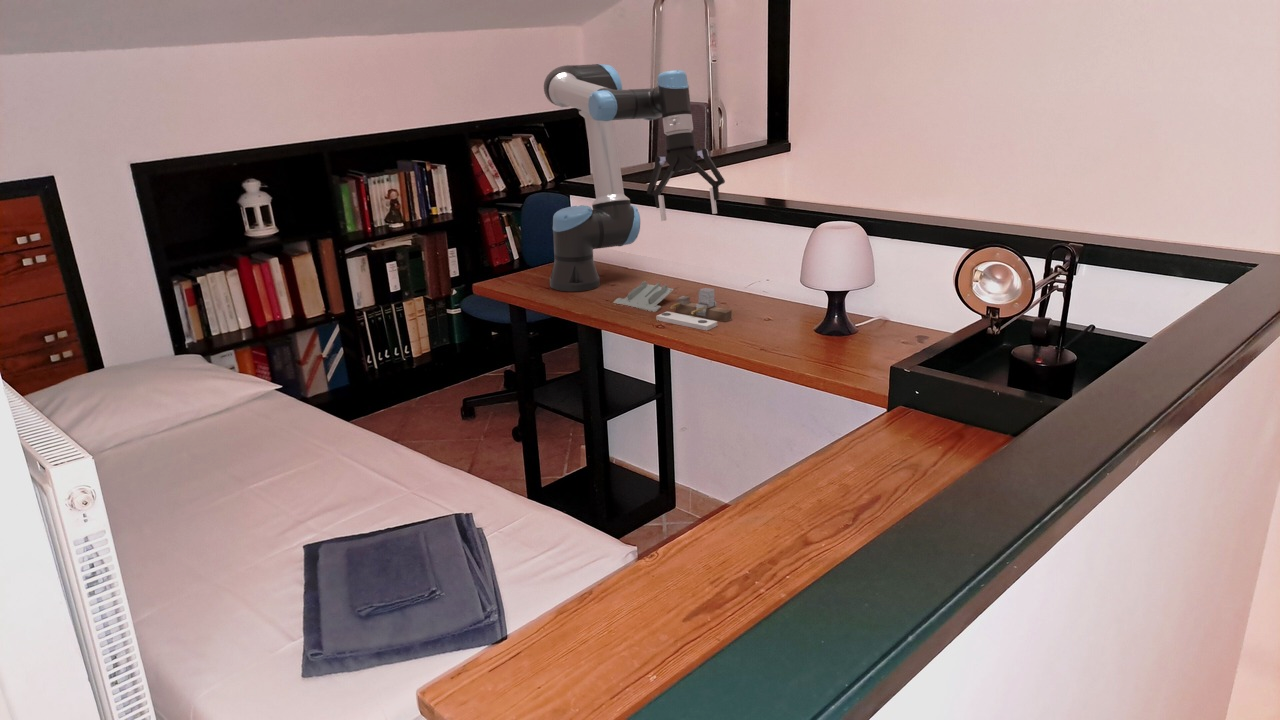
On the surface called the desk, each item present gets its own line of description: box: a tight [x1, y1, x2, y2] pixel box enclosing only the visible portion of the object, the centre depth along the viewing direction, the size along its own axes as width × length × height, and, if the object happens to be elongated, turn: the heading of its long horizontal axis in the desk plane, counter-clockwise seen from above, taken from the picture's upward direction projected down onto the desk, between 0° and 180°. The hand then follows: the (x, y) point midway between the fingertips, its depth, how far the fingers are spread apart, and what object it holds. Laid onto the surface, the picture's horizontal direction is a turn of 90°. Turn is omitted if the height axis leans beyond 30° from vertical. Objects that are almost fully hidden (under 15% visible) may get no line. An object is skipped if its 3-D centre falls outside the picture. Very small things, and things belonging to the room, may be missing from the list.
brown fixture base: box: [669, 295, 733, 323], centre depth 244 cm, size 16×7×4 cm, turn 53°
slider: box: [691, 287, 717, 317], centre depth 242 cm, size 3×9×7 cm, turn 143°
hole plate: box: [655, 311, 718, 331], centre depth 240 cm, size 16×5×1 cm, turn 53°
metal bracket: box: [612, 280, 674, 313], centre depth 258 cm, size 14×6×15 cm
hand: (689, 217), depth 236 cm, fingers open, 13 cm apart
